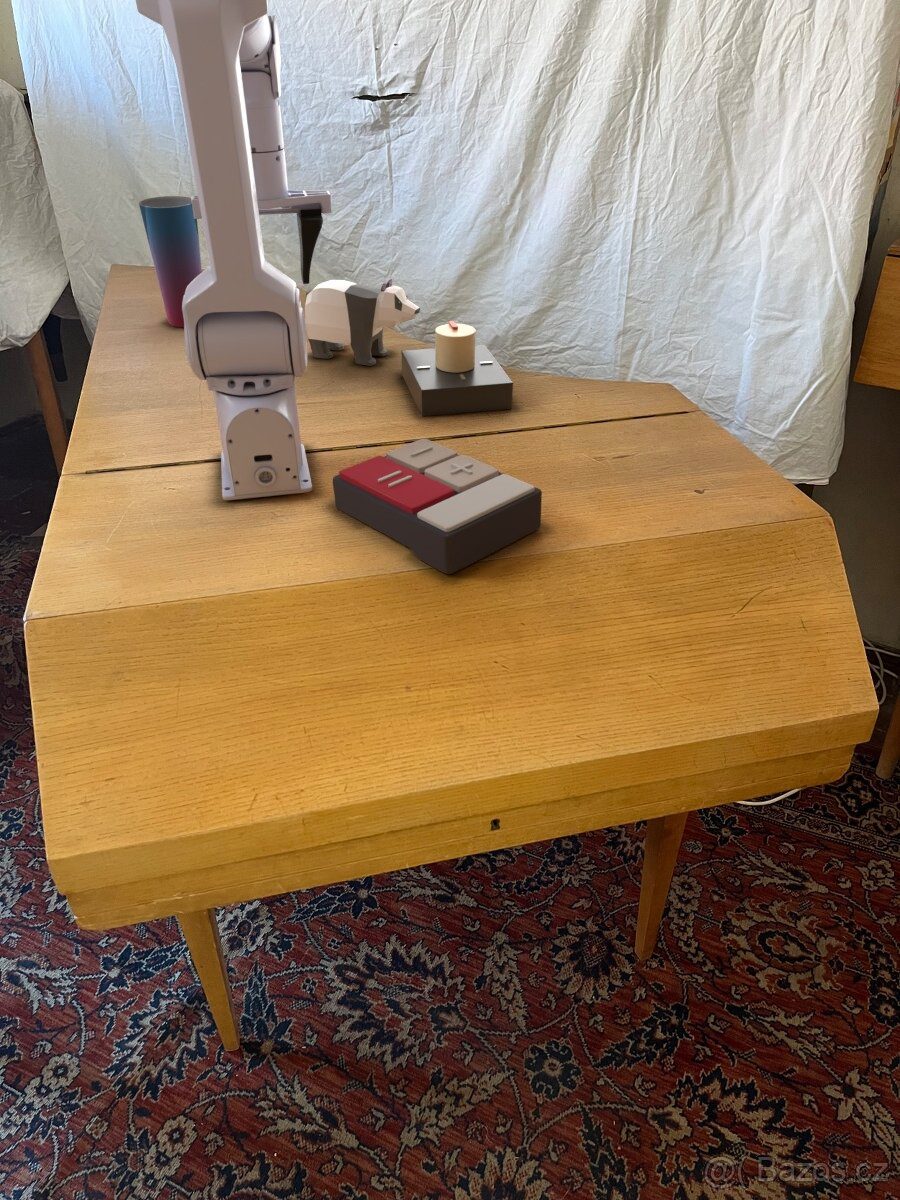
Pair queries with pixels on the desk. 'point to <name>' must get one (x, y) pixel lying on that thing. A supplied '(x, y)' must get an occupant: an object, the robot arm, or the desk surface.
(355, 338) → the giant panda
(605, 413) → the desk surface
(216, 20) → the robot arm
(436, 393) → the panel
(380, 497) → the calculator
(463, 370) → the dial
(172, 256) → the cup
